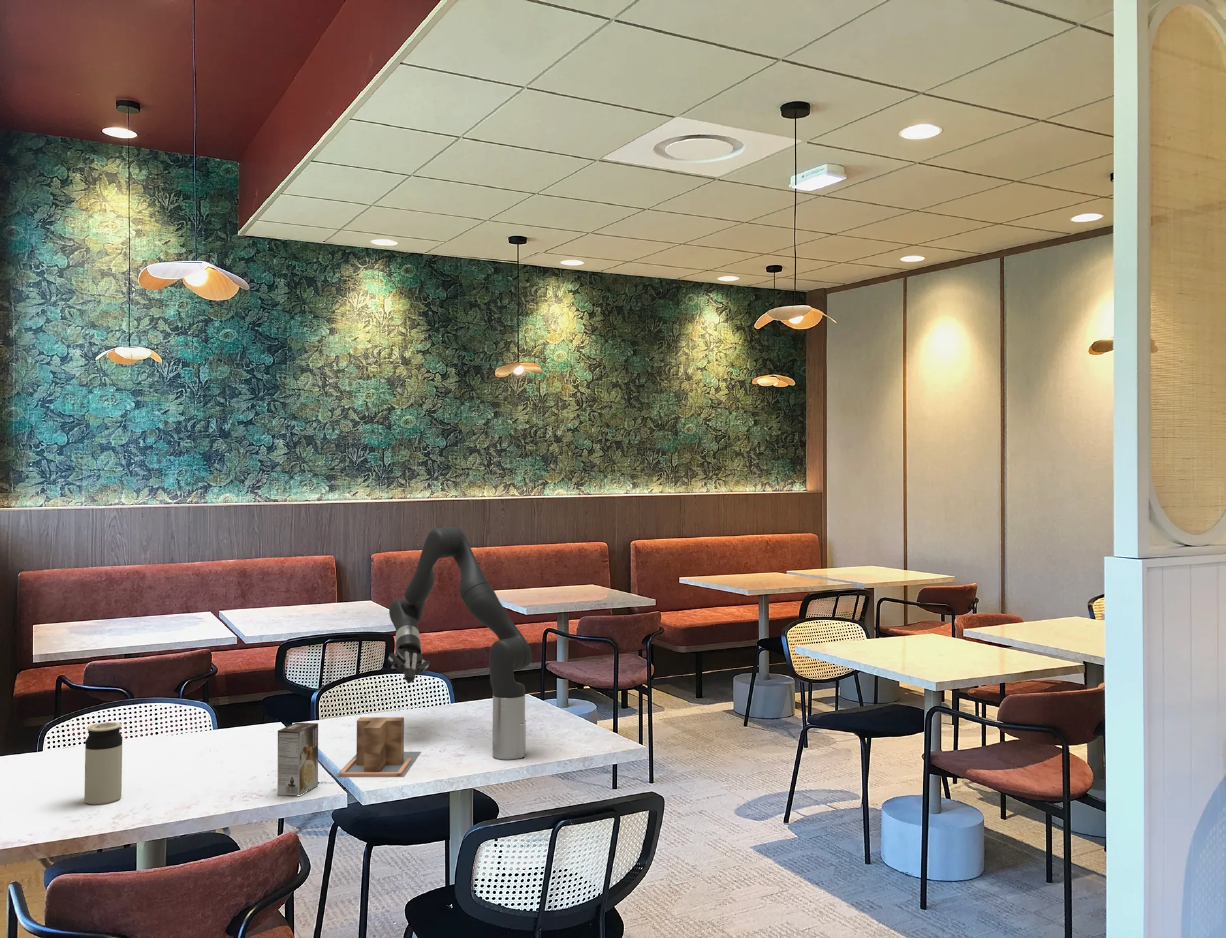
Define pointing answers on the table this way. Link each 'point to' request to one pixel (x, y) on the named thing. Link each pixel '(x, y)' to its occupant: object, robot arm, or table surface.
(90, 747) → the travel mug
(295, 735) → the coffee box
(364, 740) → the t block
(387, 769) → the board
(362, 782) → the table surface
